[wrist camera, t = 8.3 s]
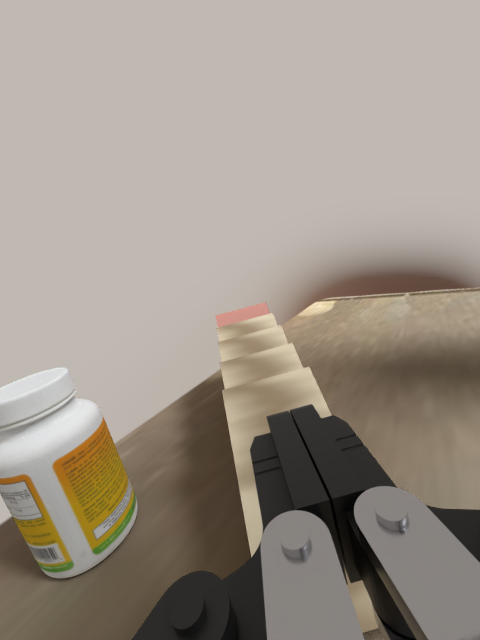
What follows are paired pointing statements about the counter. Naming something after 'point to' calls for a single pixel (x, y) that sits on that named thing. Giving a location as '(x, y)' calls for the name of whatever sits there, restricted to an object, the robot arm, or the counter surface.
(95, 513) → the supplement bottle
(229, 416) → the domino
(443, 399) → the counter surface
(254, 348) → the domino
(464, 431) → the counter surface
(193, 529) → the counter surface
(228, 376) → the domino
